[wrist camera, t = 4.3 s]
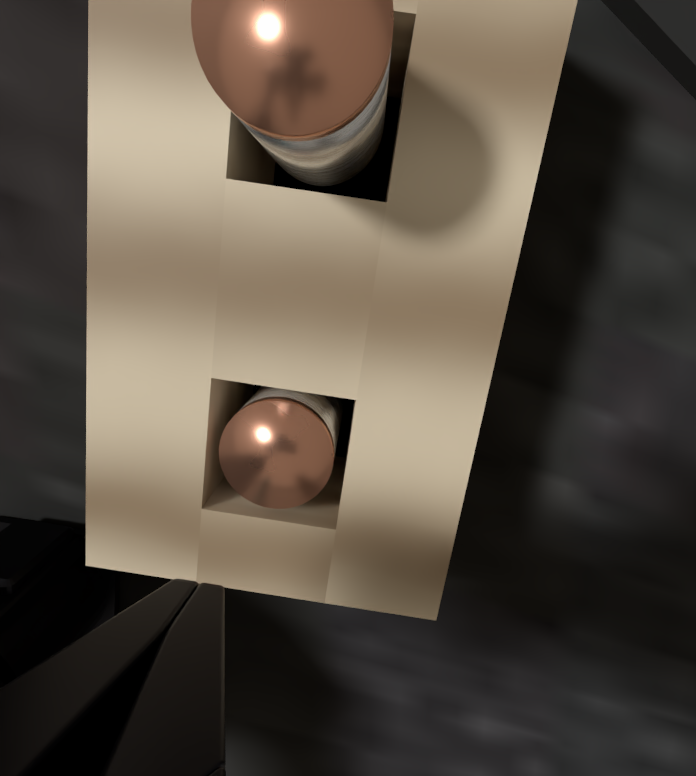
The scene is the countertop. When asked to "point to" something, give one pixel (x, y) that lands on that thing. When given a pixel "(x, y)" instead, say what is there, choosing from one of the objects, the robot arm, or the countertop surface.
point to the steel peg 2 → (281, 446)
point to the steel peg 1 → (301, 77)
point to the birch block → (302, 301)
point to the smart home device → (664, 33)
